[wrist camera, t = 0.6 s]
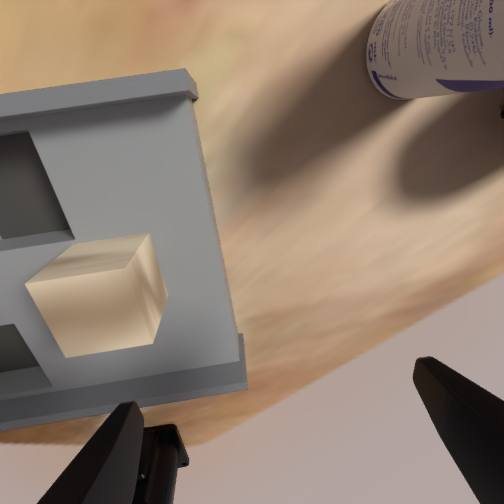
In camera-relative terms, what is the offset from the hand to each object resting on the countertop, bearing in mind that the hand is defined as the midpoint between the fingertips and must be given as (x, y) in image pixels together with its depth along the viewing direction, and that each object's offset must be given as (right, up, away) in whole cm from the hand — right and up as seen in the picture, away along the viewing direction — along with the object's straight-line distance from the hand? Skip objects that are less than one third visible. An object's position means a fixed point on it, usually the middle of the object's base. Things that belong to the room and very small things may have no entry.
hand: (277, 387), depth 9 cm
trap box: (-15, +3, +12) cm, 19 cm away
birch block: (-9, +3, +9) cm, 13 cm away
